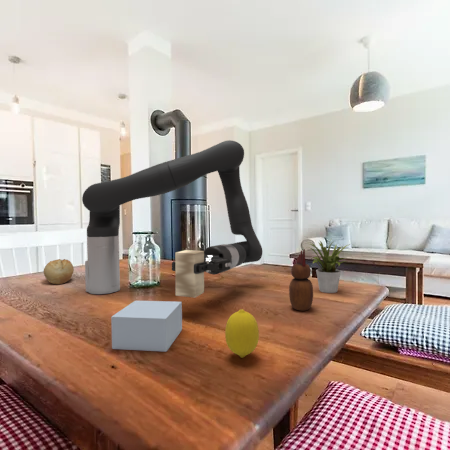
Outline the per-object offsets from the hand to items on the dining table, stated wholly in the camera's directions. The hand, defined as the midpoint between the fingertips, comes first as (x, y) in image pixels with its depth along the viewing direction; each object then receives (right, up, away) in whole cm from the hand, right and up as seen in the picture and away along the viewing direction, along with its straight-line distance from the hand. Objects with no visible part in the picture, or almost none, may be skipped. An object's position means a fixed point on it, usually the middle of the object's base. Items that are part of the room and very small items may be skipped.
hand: (184, 267), depth 69 cm
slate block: (-5, -12, -11) cm, 17 cm away
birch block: (+1, -7, +2) cm, 7 cm away
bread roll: (-51, -11, +41) cm, 66 cm away
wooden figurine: (+28, -11, +6) cm, 31 cm away
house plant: (+40, -10, +23) cm, 47 cm away
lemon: (+12, -12, -19) cm, 26 cm away
